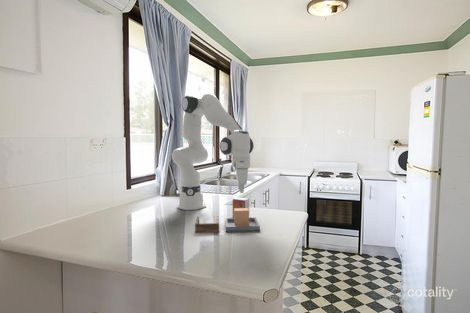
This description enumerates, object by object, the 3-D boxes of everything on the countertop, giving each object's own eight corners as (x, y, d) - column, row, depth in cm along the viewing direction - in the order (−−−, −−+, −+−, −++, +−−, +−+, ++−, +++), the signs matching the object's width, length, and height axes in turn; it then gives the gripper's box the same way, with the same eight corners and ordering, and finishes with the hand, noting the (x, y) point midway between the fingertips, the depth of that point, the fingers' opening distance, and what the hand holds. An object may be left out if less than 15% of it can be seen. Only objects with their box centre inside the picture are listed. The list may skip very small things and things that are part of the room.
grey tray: (225, 222, 152) (225, 218, 151) (255, 222, 152) (255, 217, 152) (226, 232, 137) (225, 226, 136) (259, 231, 137) (259, 226, 137)
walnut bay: (197, 224, 150) (197, 216, 150) (218, 223, 150) (218, 216, 150) (195, 232, 136) (195, 224, 136) (218, 232, 137) (218, 223, 137)
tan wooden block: (234, 223, 147) (234, 208, 146) (248, 223, 147) (248, 208, 147) (234, 226, 142) (234, 210, 141) (249, 226, 142) (249, 210, 142)
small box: (232, 217, 162) (232, 198, 161) (237, 215, 167) (236, 197, 166) (245, 219, 158) (245, 200, 157) (249, 216, 163) (249, 198, 162)
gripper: (233, 161, 153) (233, 187, 154) (235, 165, 132) (235, 195, 133) (245, 161, 153) (245, 186, 154) (249, 165, 133) (249, 194, 134)
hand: (241, 190), depth 143 cm, fingers open, 8 cm apart
